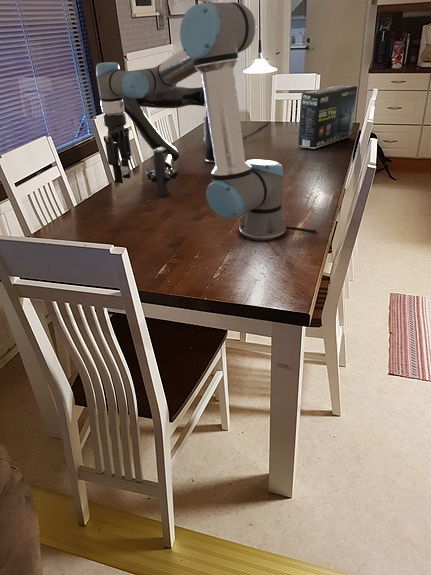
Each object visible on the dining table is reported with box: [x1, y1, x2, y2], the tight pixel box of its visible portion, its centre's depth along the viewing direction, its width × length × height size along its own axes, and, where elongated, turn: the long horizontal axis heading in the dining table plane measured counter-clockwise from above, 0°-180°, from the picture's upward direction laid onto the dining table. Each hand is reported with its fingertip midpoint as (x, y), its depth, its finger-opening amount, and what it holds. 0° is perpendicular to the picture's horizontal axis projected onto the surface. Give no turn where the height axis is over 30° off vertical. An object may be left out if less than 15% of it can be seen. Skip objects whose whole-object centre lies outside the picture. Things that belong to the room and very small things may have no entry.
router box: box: [297, 84, 358, 151], centre depth 238 cm, size 36×11×27 cm, turn 134°
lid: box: [121, 166, 130, 176], centre depth 165 cm, size 5×5×2 cm
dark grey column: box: [152, 149, 169, 197], centre depth 180 cm, size 5×5×17 cm
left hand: (160, 180), depth 179 cm, fingers closed on dark grey column, 4 cm apart
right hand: (122, 180), depth 167 cm, fingers closed on lid, 5 cm apart
